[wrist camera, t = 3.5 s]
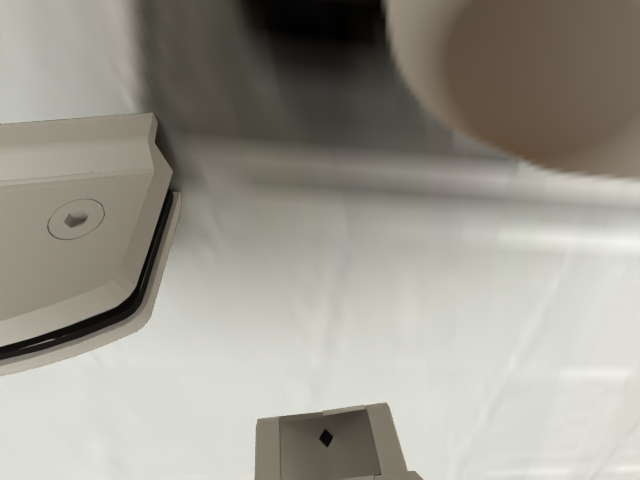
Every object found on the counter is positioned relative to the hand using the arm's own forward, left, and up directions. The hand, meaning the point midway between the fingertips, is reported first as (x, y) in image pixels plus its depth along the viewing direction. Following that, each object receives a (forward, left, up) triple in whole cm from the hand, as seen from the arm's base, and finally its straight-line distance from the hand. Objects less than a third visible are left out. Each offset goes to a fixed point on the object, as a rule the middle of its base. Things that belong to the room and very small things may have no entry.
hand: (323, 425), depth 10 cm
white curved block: (0, -14, -15) cm, 20 cm away
